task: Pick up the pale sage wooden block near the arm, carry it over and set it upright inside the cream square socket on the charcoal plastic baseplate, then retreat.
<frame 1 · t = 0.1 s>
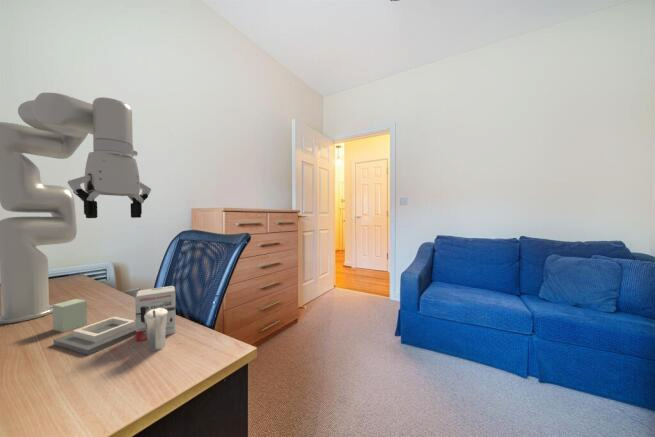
hand: (115, 217, 61), 31 cm above the table, tool pointing down, fingers open, 9 cm apart
milkshake: (156, 349, 57), on the table
baseplate: (105, 335, 63), on the table
ink box: (156, 334, 64), on the table
sage block: (70, 327, 69), on the table
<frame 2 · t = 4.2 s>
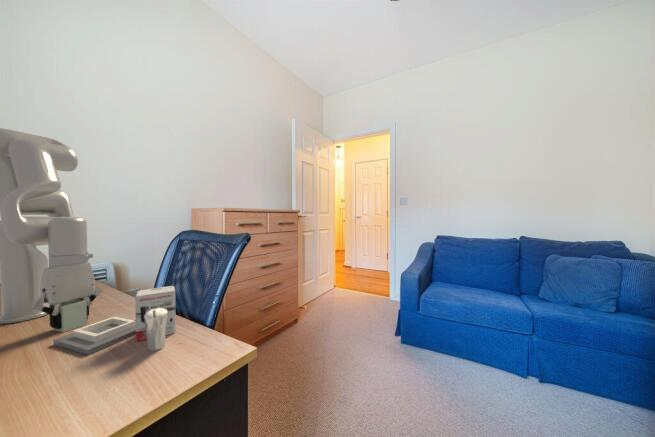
hand: (70, 323, 69), 1 cm above the table, tool pointing down, fingers closed on sage block, 5 cm apart
sage block: (70, 326, 69), on the table, touching gripper
everything else where it was.
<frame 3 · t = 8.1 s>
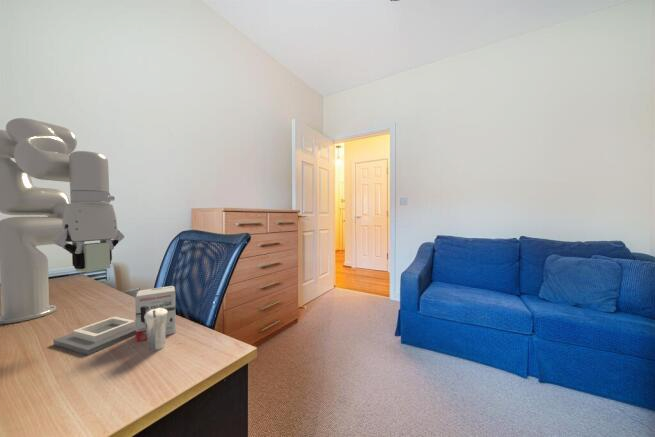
hand: (93, 265, 65), 18 cm above the table, tool pointing down, fingers closed on sage block, 5 cm apart
sage block: (93, 269, 65), point 17 cm above the table, touching gripper
everything else where it was.
when the fingers open (3 cm above the table, at t = 12.3 s): sage block stays where it is, resting on baseplate.
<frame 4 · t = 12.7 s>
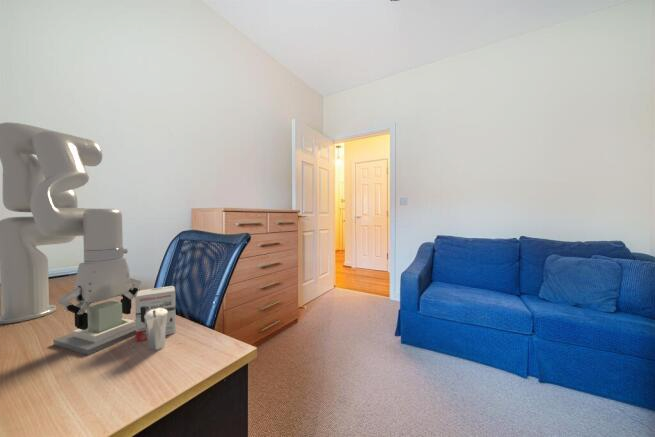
hand: (105, 320, 63), 4 cm above the table, tool pointing down, fingers open, 9 cm apart
sage block: (105, 331, 63), point 1 cm above the table, touching baseplate
everything else where it was.
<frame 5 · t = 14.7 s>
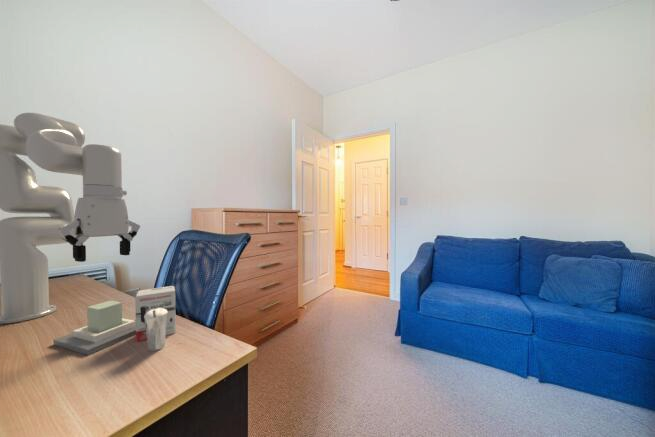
hand: (104, 257, 64), 20 cm above the table, tool pointing down, fingers open, 9 cm apart
nothing on the table moved.
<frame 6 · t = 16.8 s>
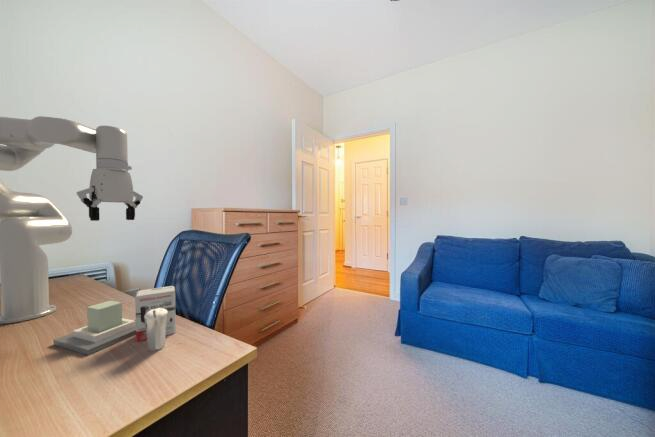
hand: (113, 220, 77), 30 cm above the table, tool pointing down, fingers open, 9 cm apart
nothing on the table moved.
at the end: sage block 0.1 cm off-centre on the baseplate, point 1.2 cm above the baseplate's base; sage block tilted 0°; the gripper is holding nothing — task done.
